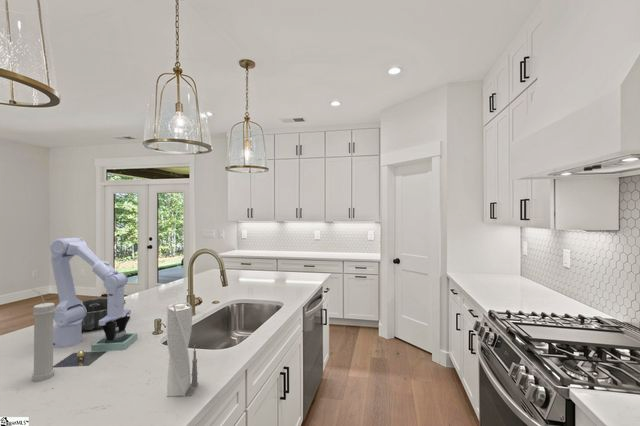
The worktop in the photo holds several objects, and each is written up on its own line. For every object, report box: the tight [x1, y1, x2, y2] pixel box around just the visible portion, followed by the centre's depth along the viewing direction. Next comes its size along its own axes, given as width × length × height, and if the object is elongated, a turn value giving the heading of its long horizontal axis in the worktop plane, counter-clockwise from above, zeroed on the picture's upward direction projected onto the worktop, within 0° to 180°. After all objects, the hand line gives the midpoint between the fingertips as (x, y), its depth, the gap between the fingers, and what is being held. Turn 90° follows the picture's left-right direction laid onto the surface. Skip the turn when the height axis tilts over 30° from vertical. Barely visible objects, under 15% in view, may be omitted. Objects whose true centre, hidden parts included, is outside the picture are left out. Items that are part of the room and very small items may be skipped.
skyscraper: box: [165, 301, 199, 398], centre depth 96 cm, size 8×8×28 cm
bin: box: [90, 332, 138, 352], centre depth 128 cm, size 12×11×4 cm
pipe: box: [31, 289, 56, 382], centre depth 102 cm, size 6×6×30 cm
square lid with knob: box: [53, 350, 108, 369], centre depth 115 cm, size 12×12×4 cm
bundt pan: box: [68, 297, 126, 331], centre depth 155 cm, size 26×26×10 cm
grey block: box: [104, 325, 127, 343], centre depth 128 cm, size 5×5×6 cm
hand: (115, 337), depth 128 cm, fingers closed on grey block, 5 cm apart
